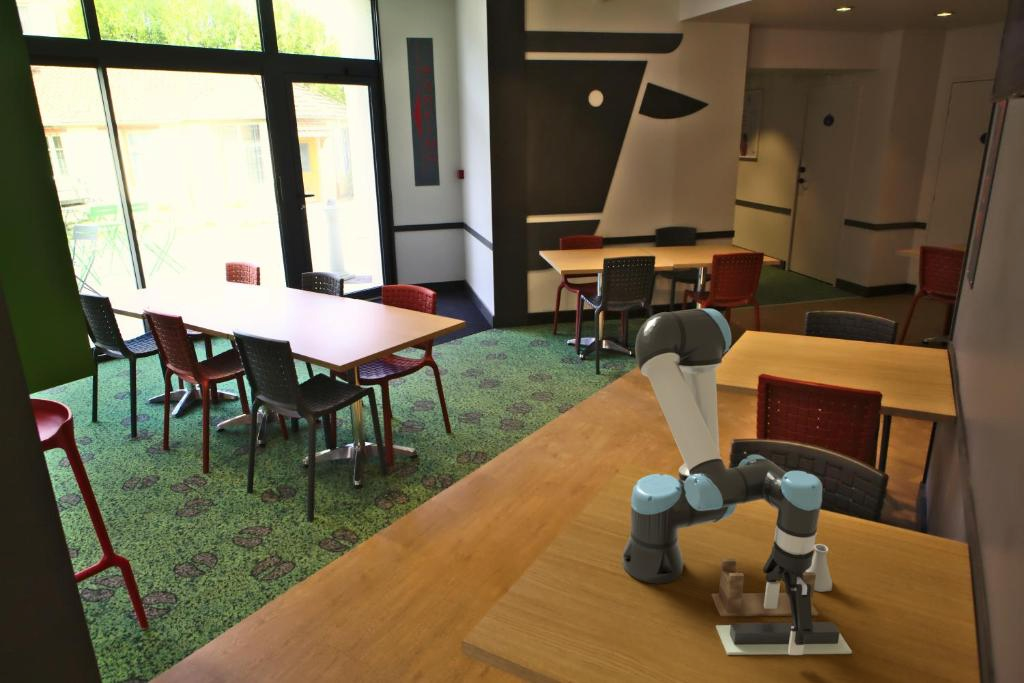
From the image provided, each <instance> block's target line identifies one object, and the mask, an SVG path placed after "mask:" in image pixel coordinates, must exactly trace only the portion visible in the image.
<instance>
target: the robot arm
mask: <svg viewBox="0 0 1024 683" xmlns="http://www.w3.org/2000/svg"><path fill="white" fill-rule="evenodd" d="M731 344H732V332H731V328H730V325H729V323H728V320H727V319H726V318H725V317H724V315H723V314H722V313H721V312H720V311H718V310H716V309H714V308H693V309H684V310H683V309H682V310H676V311H675V310H674V311H669V312H667V311H664V312H663V311H662V312H659V313H656V314H653V315H651V316H650V317H649V318H648V319H646V321H644V323H643V324H642V325H641V326H640V328H639V331H638V332H637V335H636V339H635V345H634V346H635V347H634V348H635V359H636V360H635V361H636V363H637V366H638V368H639V370H640V373H641V375H643V376H644V377H647V378H648V380H649V383H650V385H651V387H652V389H653V392H654V395H655V397H656V399H657V401H658V404H659V406H660V408H661V410H662V411H661V412H662V413H663V416H664V418H665V420H666V422H667V425H668V427H669V430H670V432H671V434H672V436H673V438H674V442H675V444H676V446H677V447H678V448H677V449H678V450H679V452H680V455H681V457H682V459H683V464H682V465H681V466H680V467H679V468H678V478H676V477H674V476H672V475H668V474H666V473H665V474H663V475H661V473H655V474H648V475H646V476H644V477H640V479H639V480H637V481H636V483H635V484H634V486H633V488H632V493H631V494H632V495H631V498H630V505H631V511H630V514H631V515H630V535H629V538H628V539H627V542H626V544H625V546H624V549H623V552H622V559H621V560H622V561H621V562H622V566H623V568H624V570H625V572H627V573H628V575H630V576H631V577H632V578H634V579H636V580H638V581H642V582H645V583H649V584H655V585H656V584H657V585H660V584H668V583H671V582H674V581H675V580H677V579H678V578H680V576H681V575H682V574H683V569H684V559H683V555H682V554H683V553H682V551H681V547H680V544H679V541H678V539H679V537H678V536H679V530H680V529H684V528H689V527H693V526H698V525H703V524H707V523H709V524H710V523H717V522H719V521H721V520H725V519H727V518H729V517H731V515H733V514H734V512H735V510H736V508H737V506H738V505H740V504H746V503H750V502H757V501H761V500H763V501H765V503H767V504H768V505H770V506H771V507H772V508H775V509H776V510H777V518H776V523H775V524H776V525H775V531H774V537H773V540H774V542H773V546H772V547H771V548H772V549H771V553H770V555H769V556H768V558H767V560H766V562H765V564H764V566H763V567H762V568H763V569H762V571H763V574H766V575H765V580H766V581H767V582H766V585H765V592H764V593H765V600H764V608H765V609H777V604H778V597H779V593H780V589H781V583H780V582H783V584H784V588H785V593H786V594H787V595H789V599H790V605H791V611H792V616H791V617H792V622H793V624H794V626H791V628H790V629H791V633H790V640H789V647H788V654H787V655H789V656H803V655H804V654H803V648H804V642H805V635H813V625H812V622H813V615H812V612H811V599H810V594H811V586H810V584H805V583H804V582H803V581H804V576H803V573H804V572H805V571H806V570H807V569H809V568H810V567H811V565H812V559H813V556H814V553H815V549H814V546H815V543H816V537H817V535H818V531H817V530H818V523H819V516H820V513H821V512H820V511H821V508H822V503H823V483H822V482H821V480H820V478H819V477H817V476H816V475H814V474H812V473H807V472H806V471H801V470H790V471H785V470H784V469H782V468H781V467H779V465H777V464H776V463H775V462H773V461H771V460H770V459H768V458H766V457H764V456H762V455H760V454H749V455H747V456H746V457H745V458H744V459H742V460H741V461H740V463H739V464H738V465H737V466H735V467H729V468H727V467H726V465H725V463H724V461H723V459H722V457H721V455H720V441H719V437H720V436H719V417H718V414H719V413H718V393H717V369H718V368H719V367H720V366H721V365H722V363H723V361H722V359H723V358H722V357H723V356H722V355H723V354H725V353H727V351H729V350H730V347H731ZM779 581H780V582H779ZM790 588H795V591H791V590H790Z"/></svg>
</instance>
